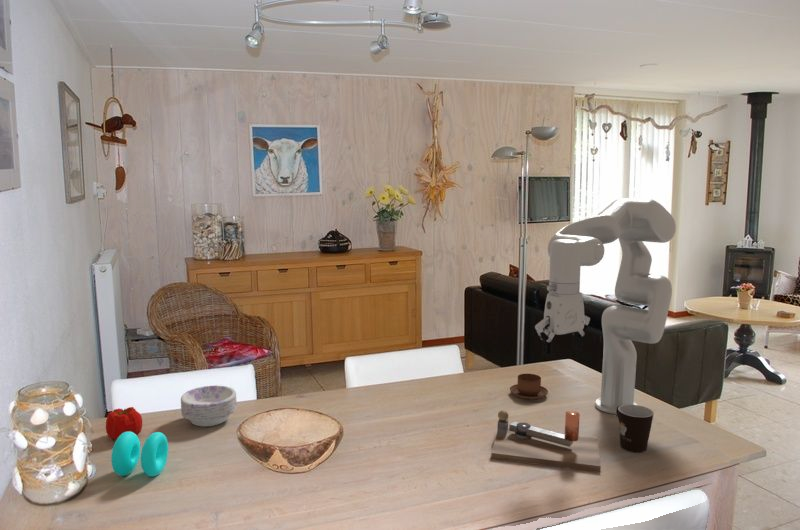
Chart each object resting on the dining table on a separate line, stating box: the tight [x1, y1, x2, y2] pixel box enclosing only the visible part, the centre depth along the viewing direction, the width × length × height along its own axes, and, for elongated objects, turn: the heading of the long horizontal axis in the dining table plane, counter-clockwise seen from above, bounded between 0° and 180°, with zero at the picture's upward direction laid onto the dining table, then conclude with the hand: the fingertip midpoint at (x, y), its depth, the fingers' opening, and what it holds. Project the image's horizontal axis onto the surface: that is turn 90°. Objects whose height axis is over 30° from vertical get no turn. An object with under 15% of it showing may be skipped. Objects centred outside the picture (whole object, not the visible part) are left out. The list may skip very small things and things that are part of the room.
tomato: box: [105, 406, 143, 441], centre depth 163 cm, size 9×9×8 cm
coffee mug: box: [616, 404, 655, 454], centre depth 160 cm, size 12×9×10 cm
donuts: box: [110, 431, 169, 477], centre depth 143 cm, size 10×10×10 cm
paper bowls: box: [180, 384, 238, 428], centre depth 174 cm, size 15×15×8 cm
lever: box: [508, 410, 580, 447], centre depth 158 cm, size 18×4×8 cm, turn 55°
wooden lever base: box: [490, 409, 602, 473], centre depth 156 cm, size 16×26×7 cm, turn 75°
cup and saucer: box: [509, 373, 549, 400], centre depth 196 cm, size 12×12×6 cm
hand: (562, 352), depth 157 cm, fingers open, 9 cm apart
